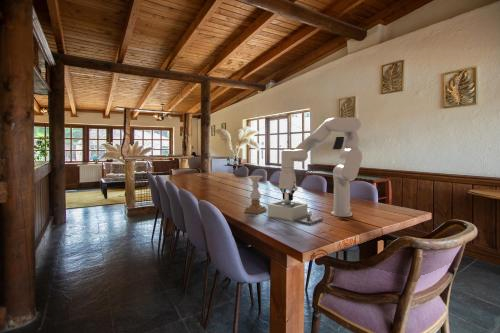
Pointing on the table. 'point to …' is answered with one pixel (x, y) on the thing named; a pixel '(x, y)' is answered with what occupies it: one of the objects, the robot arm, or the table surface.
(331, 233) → the table surface
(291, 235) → the table surface
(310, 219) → the stud base
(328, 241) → the table surface
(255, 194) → the candle holder
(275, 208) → the bin
